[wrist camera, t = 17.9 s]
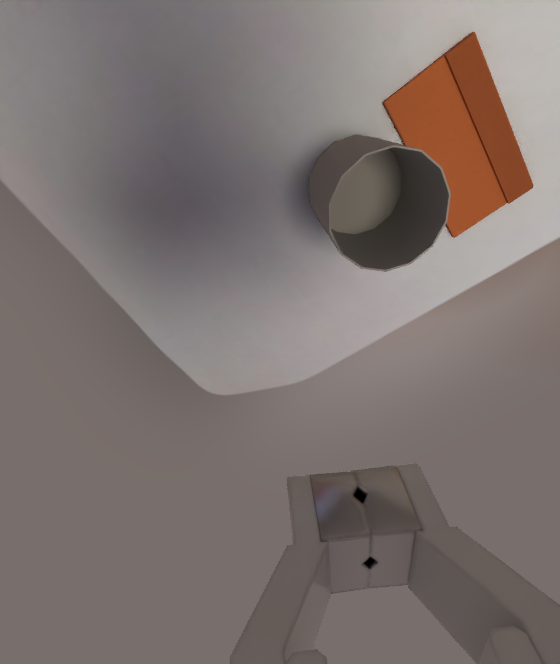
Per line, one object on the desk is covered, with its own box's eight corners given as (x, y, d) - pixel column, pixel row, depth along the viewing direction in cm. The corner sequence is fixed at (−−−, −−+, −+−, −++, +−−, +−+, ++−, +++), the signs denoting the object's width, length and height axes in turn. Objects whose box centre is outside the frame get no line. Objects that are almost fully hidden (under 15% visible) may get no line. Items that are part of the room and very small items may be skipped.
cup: (345, 251, 39) (374, 292, 30) (289, 185, 36) (303, 211, 27) (418, 188, 37) (472, 214, 28) (365, 111, 34) (407, 114, 25)
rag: (382, 102, 33) (385, 102, 33) (472, 32, 31) (476, 30, 31) (452, 237, 39) (455, 239, 39) (531, 184, 37) (535, 185, 37)
